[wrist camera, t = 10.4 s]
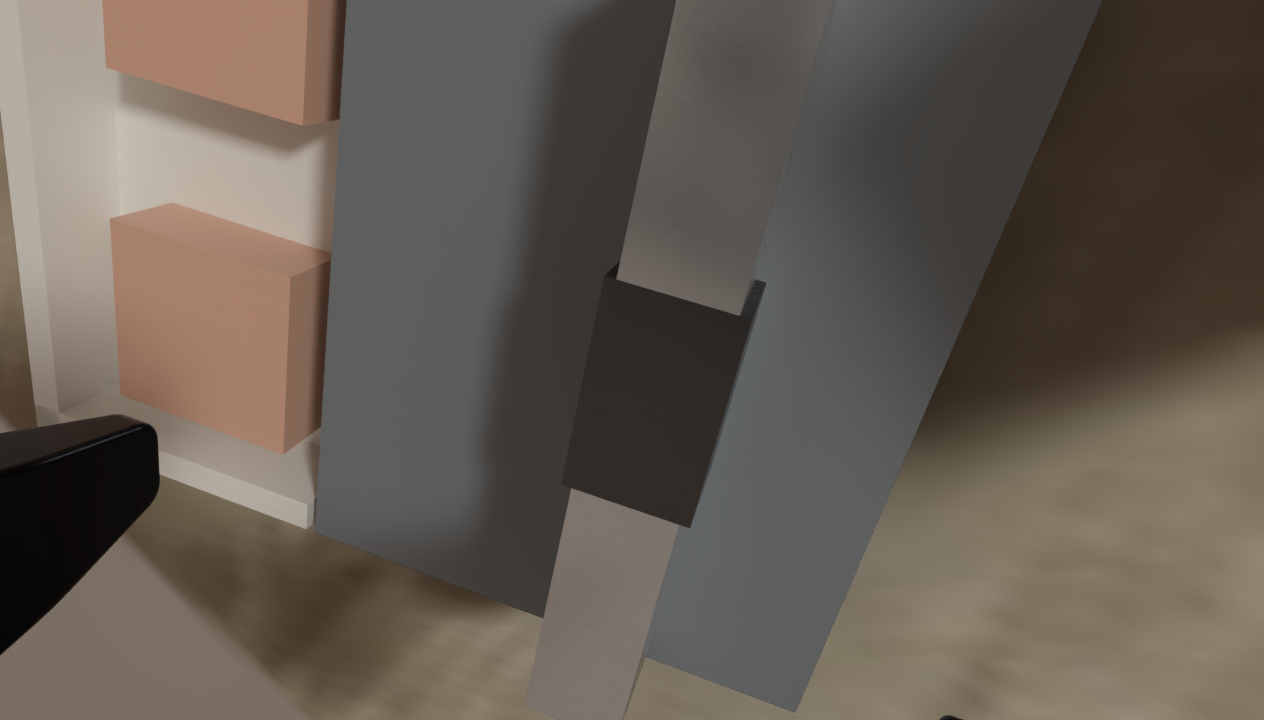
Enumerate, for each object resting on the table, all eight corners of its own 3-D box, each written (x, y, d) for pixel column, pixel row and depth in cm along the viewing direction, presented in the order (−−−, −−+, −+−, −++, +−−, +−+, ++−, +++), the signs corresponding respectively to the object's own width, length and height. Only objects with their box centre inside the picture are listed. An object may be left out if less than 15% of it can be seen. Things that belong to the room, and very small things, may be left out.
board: (1086, -57, 15) (1135, -75, 12) (803, 629, 22) (794, 712, 19) (442, -197, 17) (361, -241, 14) (376, 475, 24) (314, 532, 21)
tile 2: (340, 256, 21) (290, 277, 19) (328, 421, 23) (283, 454, 21) (172, 202, 21) (109, 218, 20) (176, 367, 24) (120, 395, 22)
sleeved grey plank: (871, -58, 13) (874, -85, 10) (664, 629, 19) (625, 745, 16) (728, -89, 13) (687, -124, 10) (570, 595, 20) (515, 702, 17)
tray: (430, -200, 17) (348, -243, 14) (368, 473, 24) (306, 529, 21) (85, -275, 18) (-51, -328, 15) (125, 385, 25) (37, 428, 22)
